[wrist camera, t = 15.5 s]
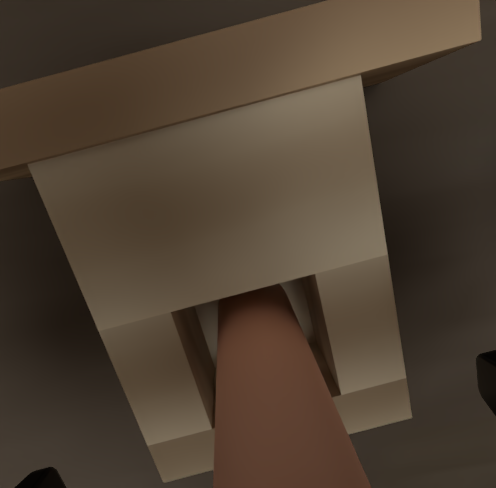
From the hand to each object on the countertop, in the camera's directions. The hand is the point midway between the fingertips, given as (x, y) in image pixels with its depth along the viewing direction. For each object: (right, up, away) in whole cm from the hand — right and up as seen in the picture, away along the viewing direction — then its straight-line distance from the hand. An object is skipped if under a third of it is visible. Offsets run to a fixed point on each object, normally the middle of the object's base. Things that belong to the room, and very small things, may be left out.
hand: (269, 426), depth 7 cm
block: (-1, +3, +7) cm, 7 cm away
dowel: (0, +1, +5) cm, 6 cm away
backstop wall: (-2, +9, +5) cm, 10 cm away
